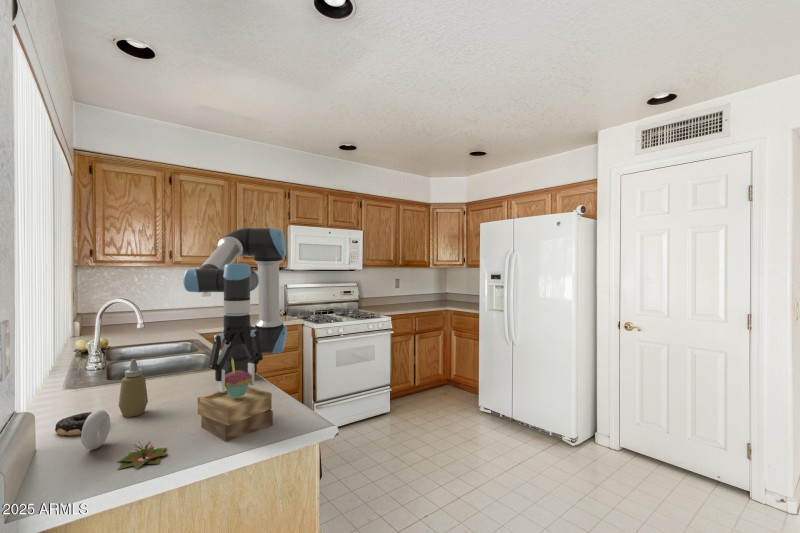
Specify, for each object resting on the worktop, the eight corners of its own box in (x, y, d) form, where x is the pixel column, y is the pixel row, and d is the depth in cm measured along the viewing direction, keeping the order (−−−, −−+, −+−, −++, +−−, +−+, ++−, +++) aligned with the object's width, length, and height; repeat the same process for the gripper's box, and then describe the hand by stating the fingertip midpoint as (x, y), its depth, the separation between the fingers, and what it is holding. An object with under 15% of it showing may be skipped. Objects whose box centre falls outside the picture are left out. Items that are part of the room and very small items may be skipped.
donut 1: (93, 436, 114) (93, 422, 114) (45, 439, 112) (45, 425, 112) (112, 421, 125) (112, 408, 125) (68, 423, 123) (68, 411, 123)
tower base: (247, 414, 132) (247, 399, 132) (272, 426, 123) (272, 410, 123) (201, 428, 121) (201, 412, 121) (225, 443, 111) (225, 425, 111)
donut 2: (93, 456, 102) (93, 417, 102) (77, 457, 102) (78, 418, 101) (112, 439, 112) (112, 403, 112) (98, 440, 111) (98, 404, 111)
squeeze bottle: (115, 414, 130) (115, 359, 130) (144, 407, 136) (144, 355, 136) (121, 420, 125) (122, 363, 125) (151, 413, 131) (151, 359, 131)
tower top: (241, 399, 132) (241, 384, 132) (271, 408, 124) (271, 393, 124) (197, 414, 119) (197, 397, 119) (228, 425, 111) (228, 407, 111)
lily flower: (164, 468, 98) (164, 449, 97) (106, 476, 94) (106, 457, 94) (175, 446, 109) (175, 430, 109) (124, 453, 105) (124, 435, 105)
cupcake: (241, 400, 117) (240, 359, 116) (215, 398, 118) (214, 358, 118) (257, 390, 125) (256, 352, 125) (233, 388, 127) (232, 351, 126)
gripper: (262, 309, 132) (262, 377, 132) (195, 316, 116) (194, 393, 116) (275, 312, 127) (274, 382, 127) (206, 318, 111) (206, 399, 111)
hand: (236, 387), depth 122 cm, fingers open, 9 cm apart
